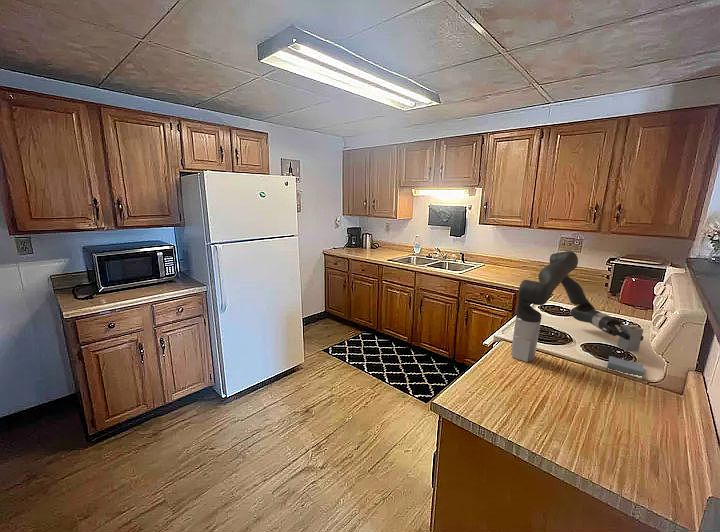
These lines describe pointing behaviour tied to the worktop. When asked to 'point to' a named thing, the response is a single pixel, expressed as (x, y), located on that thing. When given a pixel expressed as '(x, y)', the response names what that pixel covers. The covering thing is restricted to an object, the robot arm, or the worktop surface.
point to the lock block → (634, 340)
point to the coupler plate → (625, 366)
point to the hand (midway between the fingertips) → (635, 338)
